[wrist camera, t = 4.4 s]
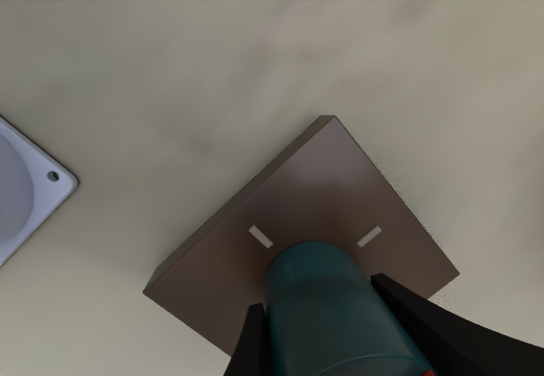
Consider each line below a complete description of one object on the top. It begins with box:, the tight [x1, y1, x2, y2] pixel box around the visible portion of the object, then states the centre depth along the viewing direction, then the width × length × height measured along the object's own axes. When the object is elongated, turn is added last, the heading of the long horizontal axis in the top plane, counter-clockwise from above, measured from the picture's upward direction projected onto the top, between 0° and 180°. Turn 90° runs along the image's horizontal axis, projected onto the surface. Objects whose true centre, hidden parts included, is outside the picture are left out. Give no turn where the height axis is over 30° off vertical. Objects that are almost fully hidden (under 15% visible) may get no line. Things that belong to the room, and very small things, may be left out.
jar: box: [264, 241, 439, 376], centre depth 10 cm, size 5×5×7 cm
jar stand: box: [143, 115, 460, 357], centre depth 15 cm, size 13×12×2 cm
